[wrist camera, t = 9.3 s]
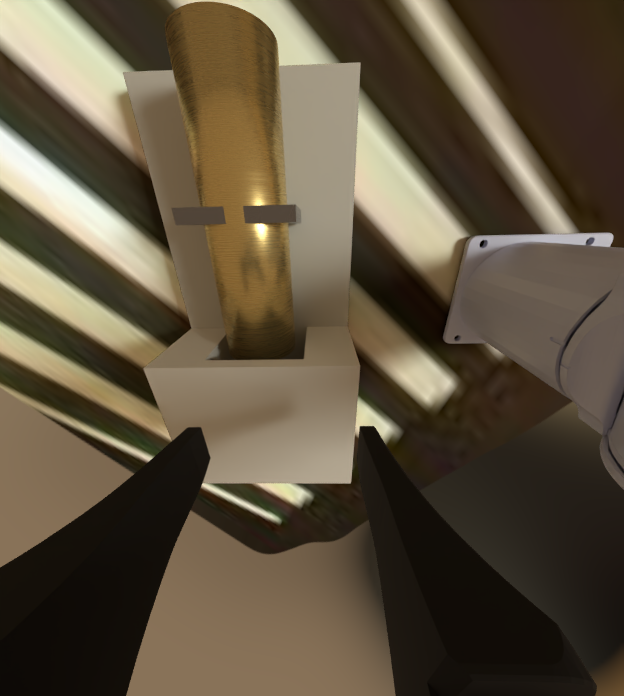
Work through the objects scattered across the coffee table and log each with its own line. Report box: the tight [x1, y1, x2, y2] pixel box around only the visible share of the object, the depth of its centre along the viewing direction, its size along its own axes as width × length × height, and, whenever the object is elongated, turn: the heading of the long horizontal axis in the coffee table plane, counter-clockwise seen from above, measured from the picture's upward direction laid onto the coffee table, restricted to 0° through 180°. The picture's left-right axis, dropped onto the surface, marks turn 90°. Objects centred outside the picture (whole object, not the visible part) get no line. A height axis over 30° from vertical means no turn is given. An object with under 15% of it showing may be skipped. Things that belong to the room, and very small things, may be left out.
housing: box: [123, 63, 360, 483], centre depth 15 cm, size 12×24×7 cm, turn 1°
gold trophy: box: [165, 2, 301, 360], centre depth 13 cm, size 6×14×4 cm, turn 1°
